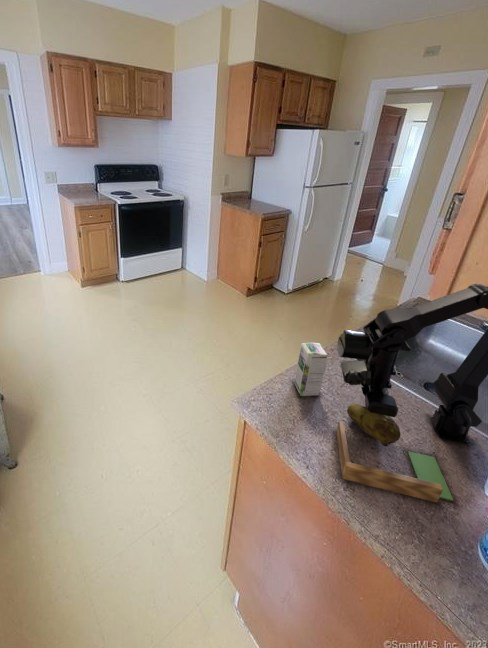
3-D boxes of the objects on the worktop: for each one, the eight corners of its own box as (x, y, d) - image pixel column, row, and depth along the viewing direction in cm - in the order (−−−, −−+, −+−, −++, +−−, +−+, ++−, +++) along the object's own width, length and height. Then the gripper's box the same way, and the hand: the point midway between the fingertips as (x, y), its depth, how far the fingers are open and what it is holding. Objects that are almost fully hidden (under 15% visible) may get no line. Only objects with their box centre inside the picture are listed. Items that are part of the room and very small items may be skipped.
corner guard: (416, 451, 77) (421, 439, 75) (437, 502, 66) (443, 489, 64) (336, 433, 81) (339, 421, 79) (342, 479, 70) (346, 466, 68)
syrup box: (293, 382, 97) (300, 342, 92) (312, 382, 98) (319, 342, 92) (300, 396, 92) (307, 355, 87) (320, 395, 93) (328, 354, 87)
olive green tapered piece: (372, 412, 87) (378, 389, 84) (401, 456, 75) (410, 431, 72) (342, 413, 87) (347, 390, 84) (366, 456, 75) (374, 431, 72)
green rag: (434, 458, 75) (434, 457, 75) (453, 501, 66) (453, 500, 66) (407, 452, 76) (408, 451, 76) (422, 493, 67) (423, 492, 67)
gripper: (342, 333, 89) (332, 377, 95) (351, 379, 72) (338, 429, 78) (386, 340, 86) (373, 385, 92) (407, 389, 69) (388, 440, 76)
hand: (367, 407), depth 85 cm, fingers closed
